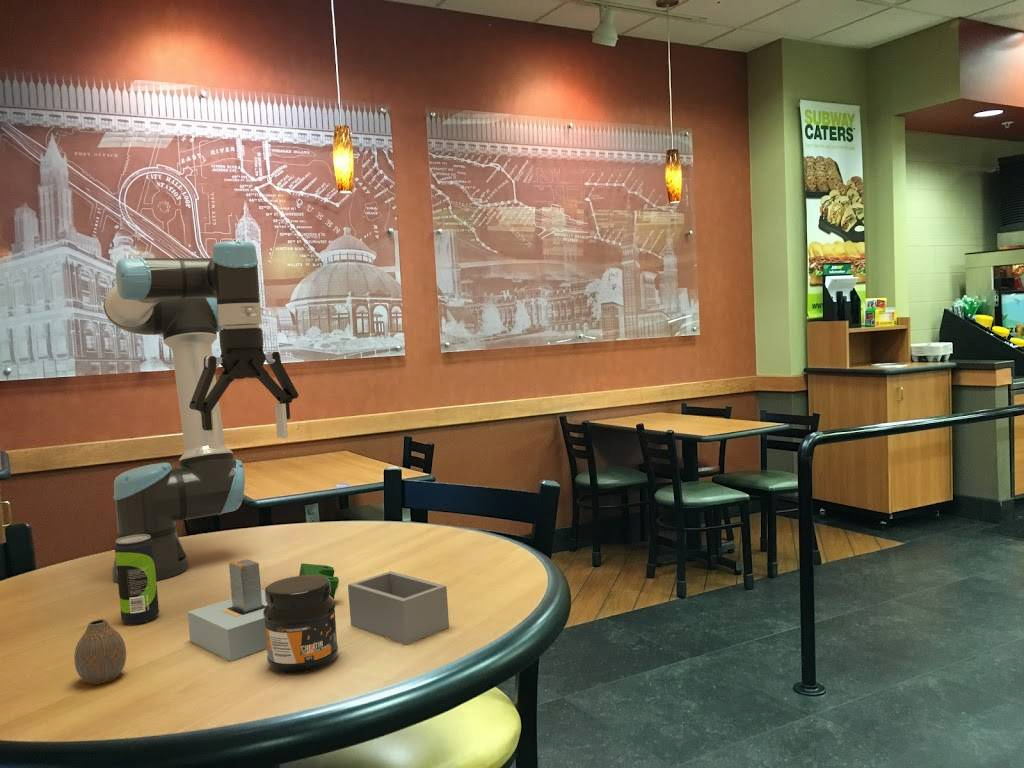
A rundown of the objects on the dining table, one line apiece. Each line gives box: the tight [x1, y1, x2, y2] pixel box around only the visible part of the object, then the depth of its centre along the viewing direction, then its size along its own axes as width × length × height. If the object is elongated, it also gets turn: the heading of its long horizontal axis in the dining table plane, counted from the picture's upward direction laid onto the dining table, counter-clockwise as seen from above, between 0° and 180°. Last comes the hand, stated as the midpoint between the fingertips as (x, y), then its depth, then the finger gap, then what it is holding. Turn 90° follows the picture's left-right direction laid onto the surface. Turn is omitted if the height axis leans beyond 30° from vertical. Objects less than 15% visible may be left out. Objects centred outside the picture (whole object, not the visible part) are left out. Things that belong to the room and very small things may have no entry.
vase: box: [73, 618, 127, 685], centre depth 121 cm, size 7×7×9 cm
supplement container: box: [263, 575, 339, 675], centre depth 123 cm, size 10×10×12 cm
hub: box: [187, 588, 267, 662], centre depth 135 cm, size 14×14×5 cm
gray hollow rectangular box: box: [347, 570, 450, 646], centre depth 136 cm, size 15×9×7 cm, turn 46°
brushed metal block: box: [228, 558, 262, 615], centre depth 135 cm, size 4×3×12 cm
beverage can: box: [114, 534, 160, 626], centre depth 147 cm, size 6×6×15 cm
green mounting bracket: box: [298, 562, 340, 600], centre depth 153 cm, size 12×6×9 cm, turn 14°
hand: (249, 442), depth 150 cm, fingers open, 13 cm apart
